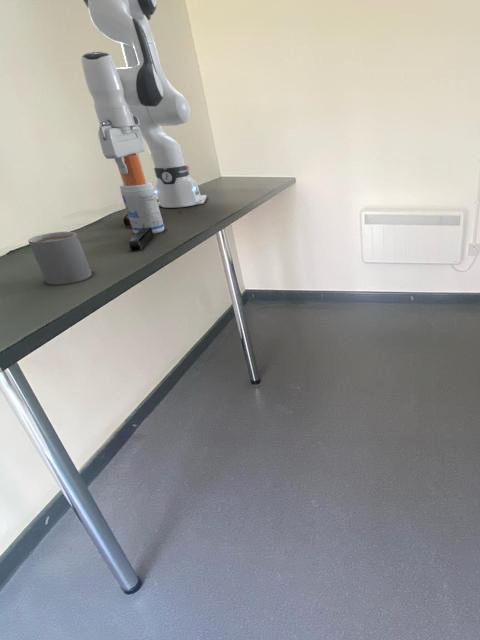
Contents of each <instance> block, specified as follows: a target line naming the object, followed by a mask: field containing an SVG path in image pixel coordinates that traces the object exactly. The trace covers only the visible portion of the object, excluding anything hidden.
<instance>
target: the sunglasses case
mask: <svg viewBox="0 0 480 640" xmlns="http://www.w3.org/2000/svg"><path fill="white" fill-rule="evenodd" d="M123 224H124V226H126V227H127V228H132V227H131V223H130V220H129V217H128V214H127V213H126V214H125V215H124V218H123Z"/></svg>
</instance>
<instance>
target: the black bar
mask: <svg viewBox="0 0 480 640" xmlns="http://www.w3.org/2000/svg"><path fill="white" fill-rule="evenodd" d="M154 236H155V234H153V231H152V228H151V227H147V228H142V229H141V230H140V231H139V232H138V233H136V234H135V233H134V235H133V236H132V237H131V238H130V239H129V240H128V246H129V248H130V250H131V251H142V250H143V249H144V248H145V247H146V246H147V244H148V243H149V242H150V240H151V239H153V237H154Z"/></svg>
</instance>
